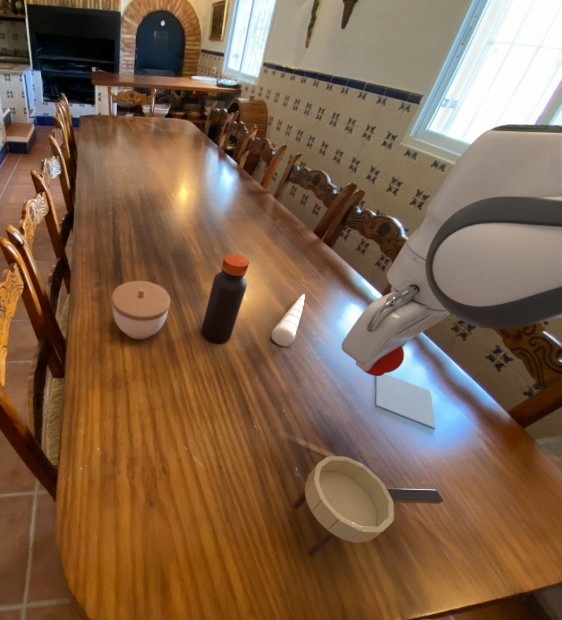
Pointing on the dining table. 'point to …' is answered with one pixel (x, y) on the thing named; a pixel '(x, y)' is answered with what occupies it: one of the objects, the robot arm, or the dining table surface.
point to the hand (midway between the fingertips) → (377, 358)
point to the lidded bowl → (140, 308)
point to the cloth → (405, 400)
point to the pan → (353, 501)
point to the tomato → (388, 362)
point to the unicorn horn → (288, 324)
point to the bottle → (225, 299)
